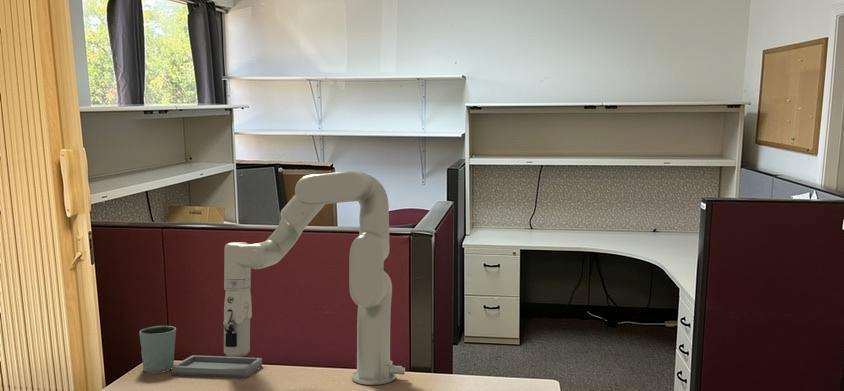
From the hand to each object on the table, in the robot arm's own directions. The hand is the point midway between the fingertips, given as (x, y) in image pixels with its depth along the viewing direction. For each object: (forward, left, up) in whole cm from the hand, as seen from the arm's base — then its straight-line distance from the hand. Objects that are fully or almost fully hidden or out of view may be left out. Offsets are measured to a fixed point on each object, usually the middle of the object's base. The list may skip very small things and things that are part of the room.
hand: (236, 342), depth 184 cm
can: (0, 0, -4) cm, 4 cm away
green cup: (+24, +1, -9) cm, 26 cm away
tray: (+6, 0, -9) cm, 10 cm away
